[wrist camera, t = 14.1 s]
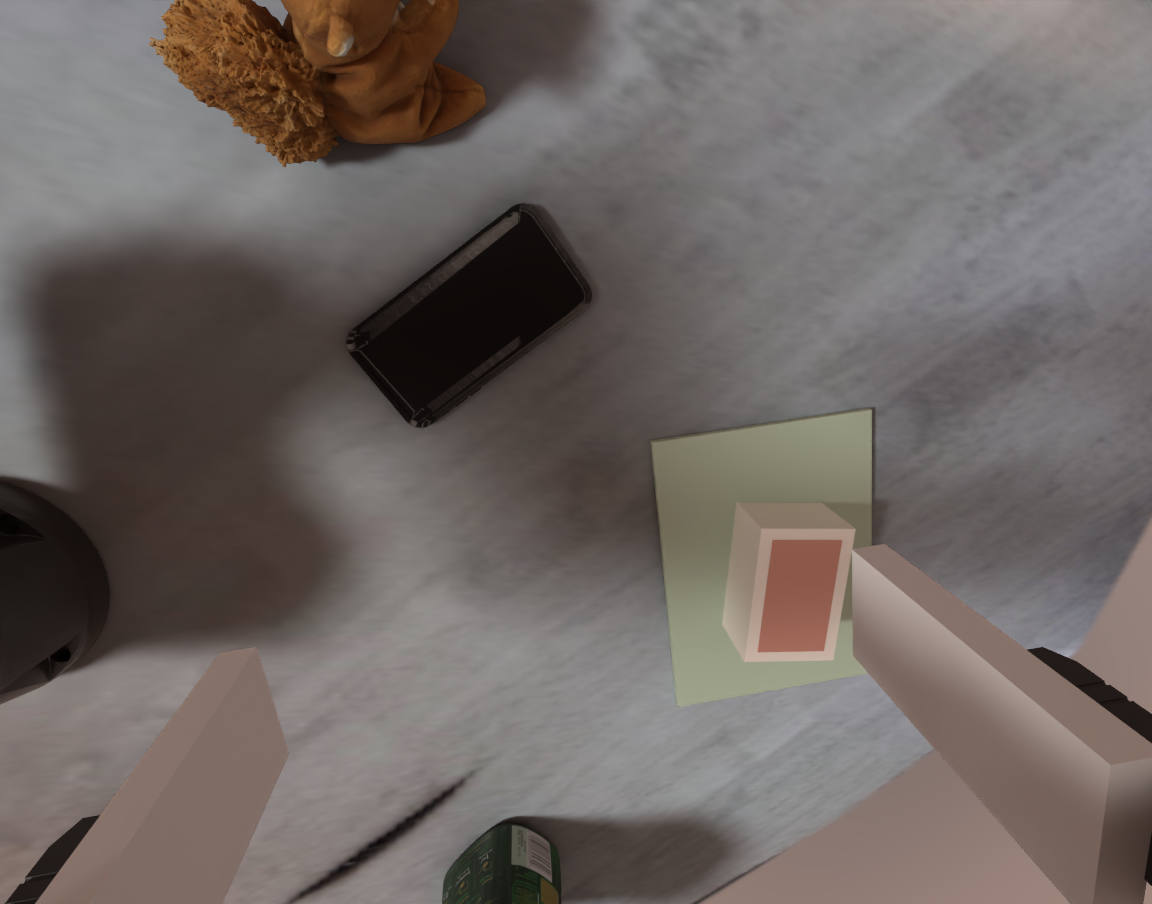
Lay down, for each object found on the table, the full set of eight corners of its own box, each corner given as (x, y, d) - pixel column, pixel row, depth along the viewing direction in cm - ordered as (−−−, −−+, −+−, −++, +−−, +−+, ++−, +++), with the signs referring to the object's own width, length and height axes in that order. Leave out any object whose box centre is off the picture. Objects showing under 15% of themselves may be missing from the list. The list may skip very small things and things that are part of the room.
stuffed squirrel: (499, 103, 40) (496, 30, 27) (301, 220, 41) (208, 201, 28) (409, -72, 37) (359, -243, 25) (196, 57, 38) (41, -45, 25)
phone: (338, 340, 42) (527, 195, 41) (342, 338, 43) (526, 196, 42) (418, 435, 44) (599, 301, 43) (420, 431, 45) (597, 300, 44)
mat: (675, 702, 53) (677, 706, 52) (650, 440, 47) (651, 442, 46) (867, 668, 54) (871, 672, 53) (867, 407, 48) (871, 409, 47)
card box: (736, 502, 48) (762, 529, 43) (821, 502, 49) (856, 529, 44) (722, 624, 51) (744, 662, 46) (802, 623, 52) (833, 660, 47)
